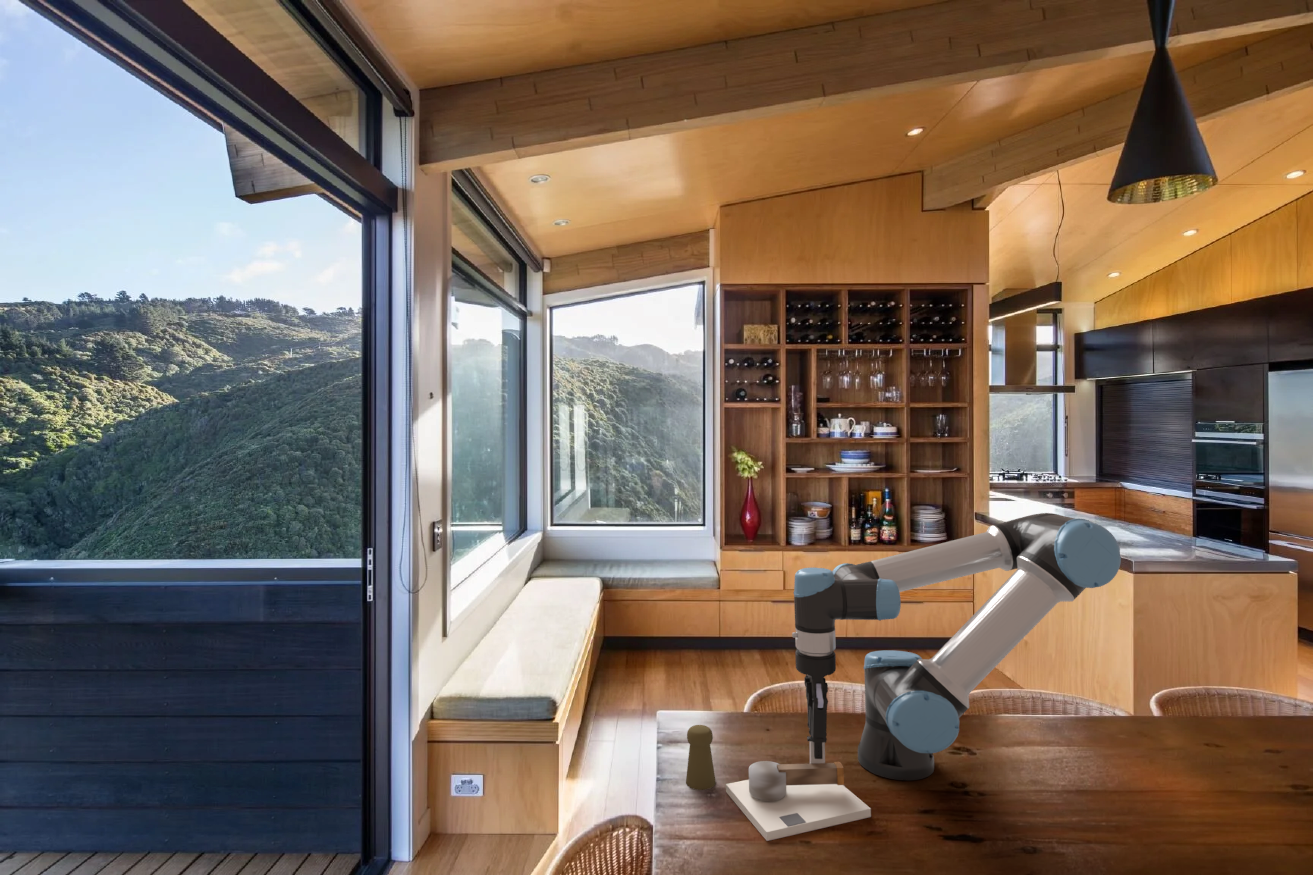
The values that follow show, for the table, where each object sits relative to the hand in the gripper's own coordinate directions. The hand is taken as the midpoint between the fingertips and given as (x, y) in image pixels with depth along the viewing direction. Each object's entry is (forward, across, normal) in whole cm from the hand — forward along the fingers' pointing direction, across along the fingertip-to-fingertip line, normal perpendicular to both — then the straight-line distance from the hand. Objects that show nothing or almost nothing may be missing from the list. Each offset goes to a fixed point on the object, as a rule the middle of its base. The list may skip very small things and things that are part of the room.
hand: (817, 771), depth 128 cm
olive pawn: (+5, -4, -23) cm, 23 cm away
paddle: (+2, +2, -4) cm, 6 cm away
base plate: (+4, +3, -5) cm, 7 cm away
